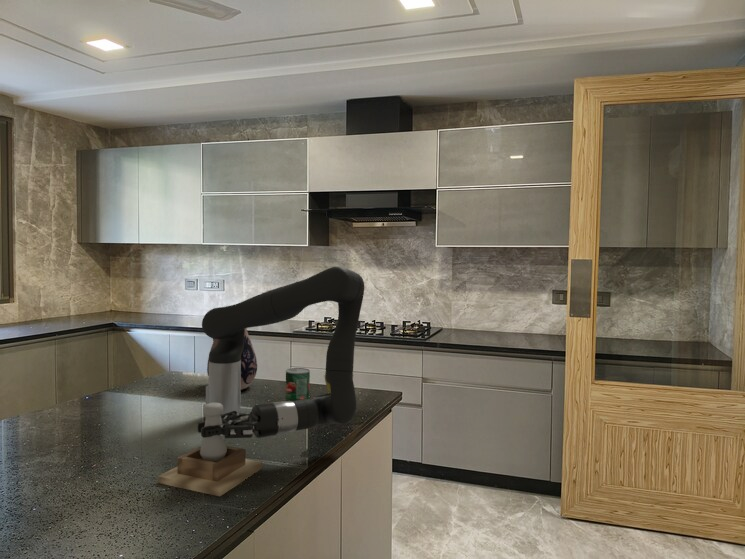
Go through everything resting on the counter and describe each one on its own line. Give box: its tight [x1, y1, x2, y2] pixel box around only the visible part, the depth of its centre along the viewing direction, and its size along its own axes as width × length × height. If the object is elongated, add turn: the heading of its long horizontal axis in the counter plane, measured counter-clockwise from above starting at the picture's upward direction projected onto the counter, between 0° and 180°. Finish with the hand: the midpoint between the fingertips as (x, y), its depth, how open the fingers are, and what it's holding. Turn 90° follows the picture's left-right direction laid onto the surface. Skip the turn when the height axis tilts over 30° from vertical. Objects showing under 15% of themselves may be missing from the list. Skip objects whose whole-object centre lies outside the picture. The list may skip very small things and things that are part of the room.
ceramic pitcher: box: [206, 328, 258, 391], centre depth 200 cm, size 18×21×25 cm
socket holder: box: [157, 445, 264, 497], centre depth 124 cm, size 16×16×5 cm
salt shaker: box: [200, 402, 228, 463], centre depth 124 cm, size 6×6×13 cm
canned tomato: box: [285, 367, 311, 401], centre depth 183 cm, size 8×8×11 cm
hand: (200, 430), depth 122 cm, fingers closed on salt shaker, 3 cm apart
